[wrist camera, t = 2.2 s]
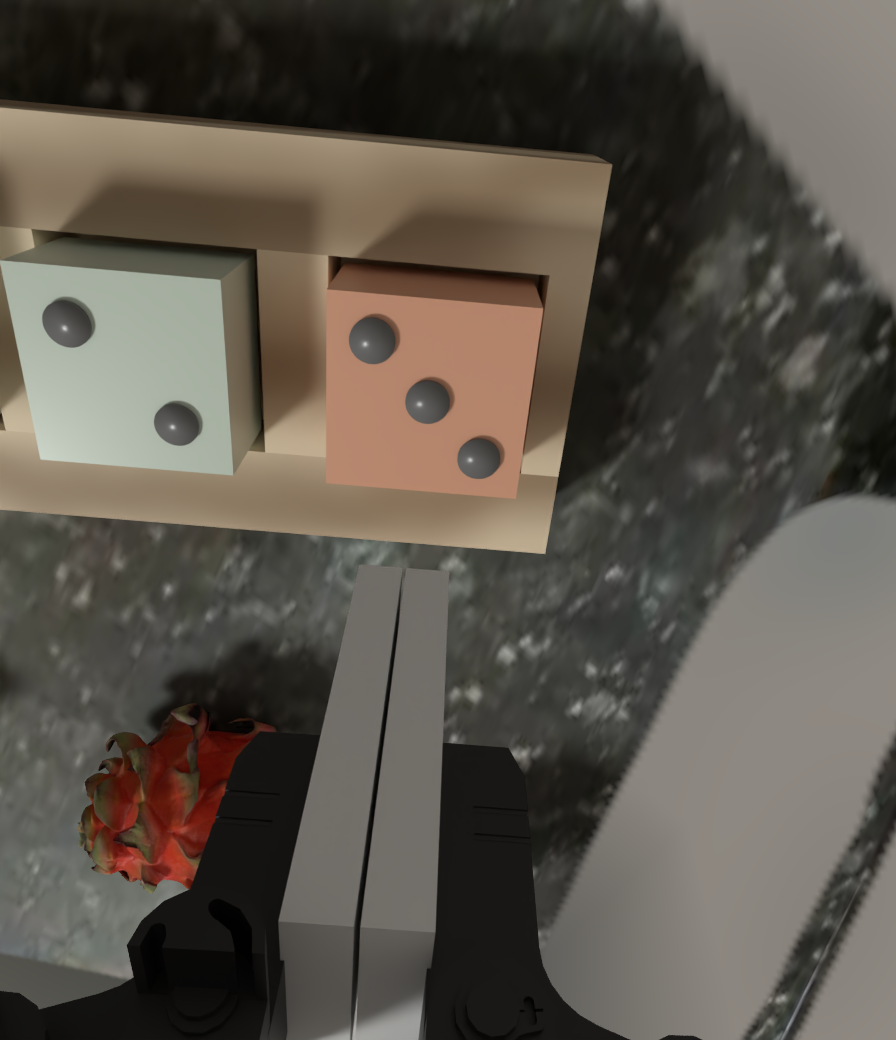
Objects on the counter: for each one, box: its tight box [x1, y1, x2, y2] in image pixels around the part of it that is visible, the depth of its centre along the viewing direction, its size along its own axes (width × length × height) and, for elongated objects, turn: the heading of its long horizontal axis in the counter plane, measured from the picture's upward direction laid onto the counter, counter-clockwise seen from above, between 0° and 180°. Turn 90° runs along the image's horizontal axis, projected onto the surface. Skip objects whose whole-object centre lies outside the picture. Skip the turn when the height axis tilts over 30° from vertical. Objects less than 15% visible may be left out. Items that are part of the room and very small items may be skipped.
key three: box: [326, 262, 543, 499], centre depth 25 cm, size 6×6×4 cm
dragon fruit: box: [78, 703, 277, 893], centre depth 38 cm, size 8×8×12 cm
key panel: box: [0, 99, 612, 554], centre depth 28 cm, size 14×29×4 cm, turn 85°
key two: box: [0, 237, 262, 475], centre depth 25 cm, size 6×6×4 cm
